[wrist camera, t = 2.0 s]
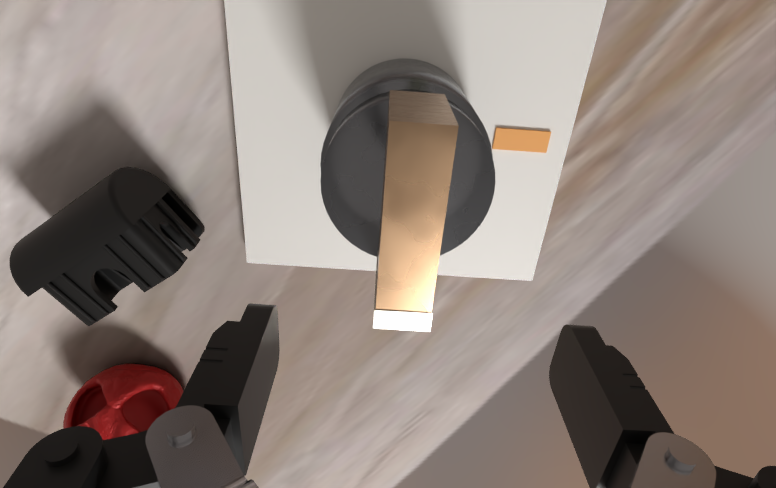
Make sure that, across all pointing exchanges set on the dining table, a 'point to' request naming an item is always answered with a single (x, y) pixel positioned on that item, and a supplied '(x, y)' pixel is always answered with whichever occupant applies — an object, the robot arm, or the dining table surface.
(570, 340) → the robot arm
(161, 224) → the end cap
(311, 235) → the lock base
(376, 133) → the lock lever handle
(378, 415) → the dining table surface
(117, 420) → the pomegranate
